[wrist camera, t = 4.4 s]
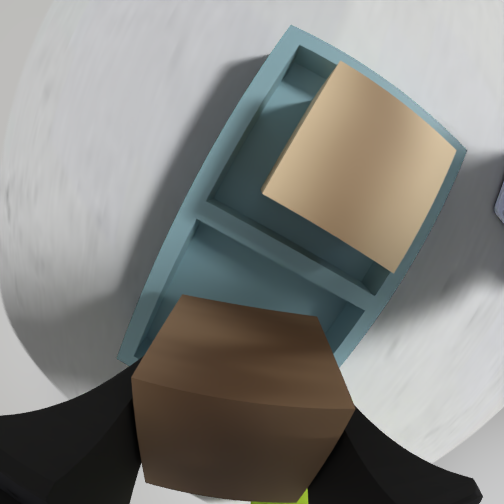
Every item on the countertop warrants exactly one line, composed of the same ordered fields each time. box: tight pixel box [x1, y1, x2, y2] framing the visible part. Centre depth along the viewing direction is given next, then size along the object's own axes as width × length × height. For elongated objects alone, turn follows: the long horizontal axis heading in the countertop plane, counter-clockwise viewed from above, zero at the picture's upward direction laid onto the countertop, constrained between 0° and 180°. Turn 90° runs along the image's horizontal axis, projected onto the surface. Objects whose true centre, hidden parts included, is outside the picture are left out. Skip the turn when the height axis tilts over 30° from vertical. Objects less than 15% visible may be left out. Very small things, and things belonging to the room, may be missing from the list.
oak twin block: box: [260, 61, 457, 273], centre depth 10 cm, size 5×5×5 cm
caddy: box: [117, 25, 467, 367], centre depth 13 cm, size 10×18×3 cm, turn 151°
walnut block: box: [131, 294, 355, 503], centre depth 8 cm, size 5×5×5 cm
